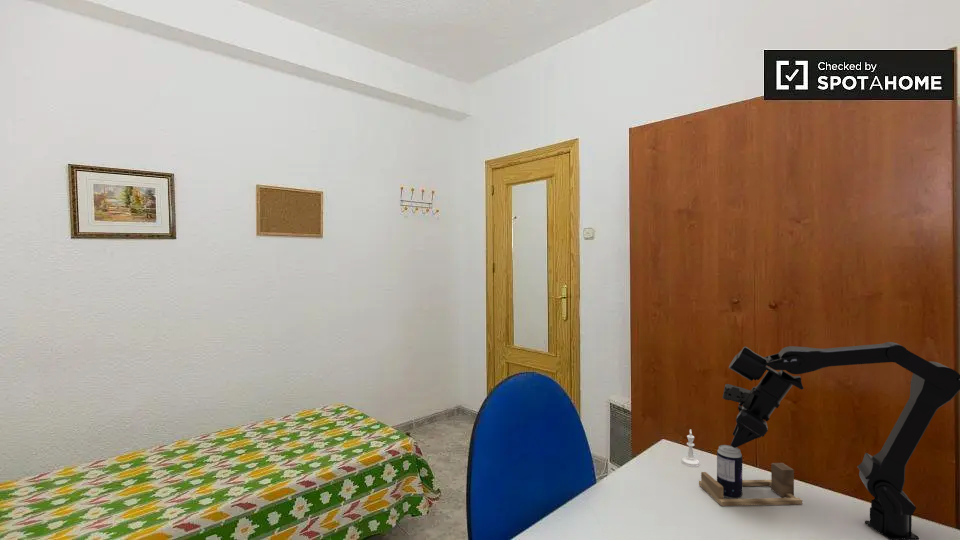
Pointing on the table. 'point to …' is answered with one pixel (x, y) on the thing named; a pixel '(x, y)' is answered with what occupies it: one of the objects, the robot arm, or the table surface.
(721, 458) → the beverage can
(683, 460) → the chess piece
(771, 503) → the wooden frame
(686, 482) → the table surface
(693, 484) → the table surface
